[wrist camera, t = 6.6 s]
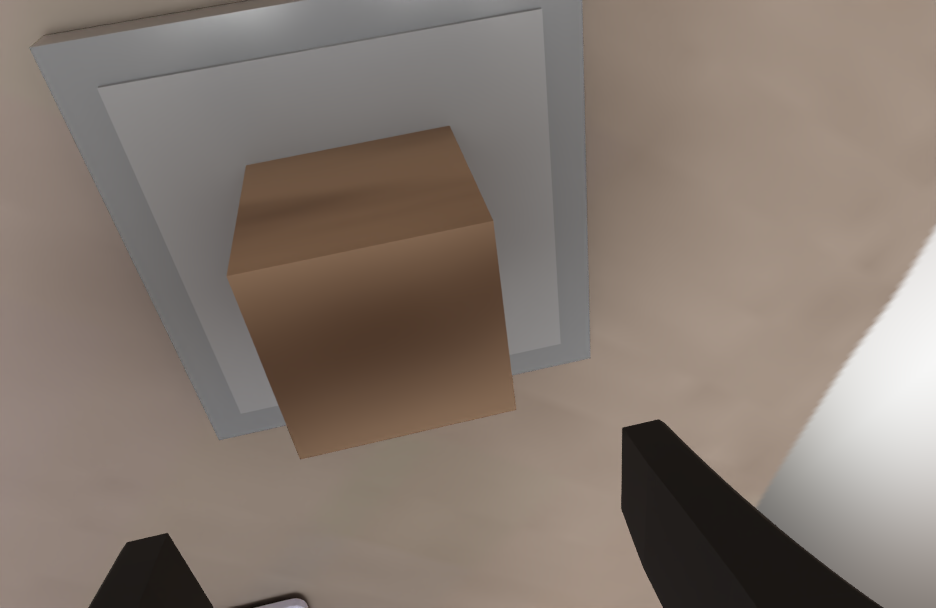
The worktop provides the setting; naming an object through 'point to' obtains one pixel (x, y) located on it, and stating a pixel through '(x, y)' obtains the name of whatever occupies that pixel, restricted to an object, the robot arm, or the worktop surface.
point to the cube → (372, 290)
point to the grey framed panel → (325, 127)
